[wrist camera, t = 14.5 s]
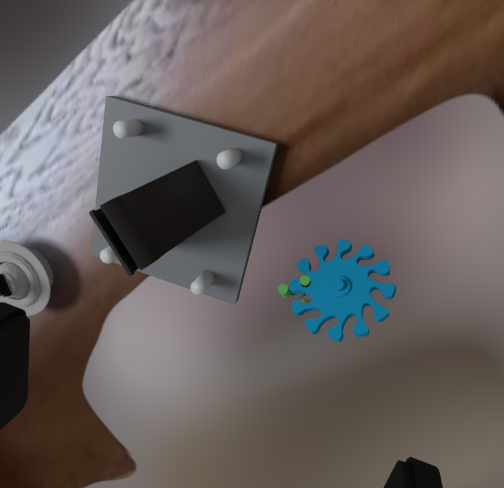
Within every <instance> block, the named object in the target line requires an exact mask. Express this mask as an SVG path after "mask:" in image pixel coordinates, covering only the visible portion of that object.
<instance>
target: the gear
mask: <svg viewBox="0 0 504 488" xmlns="http://www.w3.org/2000/svg"><path fill="white" fill-rule="evenodd" d="M337 247H338V250H337V254H336V256H335V257H334V258H333V260H332V261H331V262H325V259H326V257H327V256H328V254H329V250H328V248H327V246H326V245H320V246H317V247H315V249H314V251H315V253H316V255H317V256H318V258H319V269H318V271H316V272H311V265H310V262H309V261H308V260H307V259H306V258H304V259H302V260H301V261H300V262H299V263H298V264H297V268H298V269H299V271H300V272H302V273H304V274H307V275H308V276H307V275H304V276H302V277H301V278H300V281H299V280H298V279H295V278H294V279H292V280H291V282H290V284H289V287H288V286H287V285H285V284H281V285H280V286H279V287H278V291H279V293H280V294H281V295H282V296H283V297H284V298H289V297H290V296H291V295H292V296H293V297H294V298H295V299H298V300H302V301H303V302H304V303H306V302H308V300H312V301H311V303H309V304H304V303H302V302H301V301H298V300H296V301H293V302H292V309H293V313H294V314H295V315H296V316H301V315H303V314H304V313H305V312H308V311H312V310H317V311H322V315H321V317H320V318H317V319H315V318H310V319H308V320H306V322H305V325H306V327H307V328H308V329H309V330H310V331H311V332H312V333H313V334H316V333H318V331H319V330H320V328H321V326H322V325H323V324H324V323H325V322H326V321H328V320H330V319H332V318H337V319H338V320H339V322H338V324H337V325H336V326H334V327H331V328H330V329H329V330H328V333H327V335H328V336H329V338H331V339H333V340H335V341H338V342H341V341H342V339H343V328H344V325H345V323H346V321H347V320H348V319H349V317H351V316H356V317H357V318H358V320H357V323H356V324H355V325H354V327H353V332H354V334H355V336H356V337H364V336H367V335H369V329H368V327H367V325H366V324H365V323H364V321H363V309H364V307H365V306H368V305H369V306H372V307H373V308H374V309H373V315H374V317H375V320H376V321H378V322H382V321H383V320H385V319H386V318H387V317H388V316H389V312H388V310H387V309H386V308H385V307H383V306H381V305H379V304H377V303H376V302H375V301H374V300H373V298H372V297H371V292H372V291H373V290H375V289H378V290H380V291H381V292H382V294H383V296H384V297H385V298H386V299H392V298H393V297H394V295H395V291H396V286H395V285H394V284H393V283H378V282H375V281H373V280H371V279H370V278H369V275H370V274H371V273H373V272H375V273H378V274H380V275H381V276H388V275H389V273H390V271H389V265H388V263H387V260H381V261H379V262H378V263H376V264H374V265H371V266H359V265H358V262H359V261H360V260H369V259H372V258H373V257H374V252H373V250H372V248H371V247H370V246H368V245H367V244H364V245H363V246H362V247H361V248H360V250H359V252H358V253H357V254H356V255H355V256H354V257H352V258H350V259H348V260H342V256H343V255H345V254H346V253H349V252H350V251H351V249H352V245H351V243H350V242H349V241H346V240H339V241H338V243H337Z"/></svg>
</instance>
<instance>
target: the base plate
mask: <svg viewBox="0 0 504 488" xmlns="http://www.w3.org/2000/svg"><path fill="white" fill-rule="evenodd" d="M277 147H278V143H277V142H274V141H270V140H267V139H263V138H260V137H256V136H253V135H249V134H245V133H242V132H238V131H235V130H231V129H228V128H224V127H221V126H217V125H214V124H210V123H207V122H203V121H199V120H196V119H192V118H189V117H185V116H182V115H178V114H175V113H171V112H168V111H164V110H161V109H157V108H154V107H150V106H146V105H143V104H139V103H136V102H132V101H129V100H125V99H122V98H118V97H115V96H106V102H105V113H104V123H103V134H102V144H101V155H100V165H99V176H98V186H97V197H96V208H95V210H98V209H100V208H101V207H100V205H102V204H104V203H105V202H107V201H109V200H111V199H113V198H115V197H117V196H120V195H123V194H125V193H128V192H130V191H132V190H134V189H136V188H138V187H140V186H143V185H145V184H147V183H149V182H151V181H153V180H155V179H157V178H159V177H161V176H164V175H166V174H168V173H170V172H172V171H174V170H176V169H178V168H180V167H182V166H185V165H187V164H189V163H191V162H193V161H195V160H197V162H198V164H199V165H200V167H201V169H202V171H203V172H204V174H205V176H206V178H207V179H208V181H209V183H210V185H211V186H212V188H213V190H214V192H215V193H216V195H217V197H218V199H219V200H220V202H221V204H222V206H223V207H224V209H225V211H226V212H225V213H224V214H222V215H221V216H219V217H218V218H217V219H215V220H214V221H212V222H211V223H209V224H208V225H206V226H205V227H203V228H202V229H200V230H199V231H198V232H196V233H195V234H193V235H192V236H190V237H189V238H187V239H186V240H184V241H183V242H181V243H180V244H179V245H177V246H176V247H174V248H173V249H171V250H170V251H168V252H167V253H165V254H164V255H163V256H162V257H160V258H159V259H158V260H157V261H155V262H154V263H152V264H151V265H149V266H148V267H146V268H144V269H143V270H141V271H140V269H137V271H140V272H142V273H145V274H148V275H151V276H154V277H157V278H160V279H163V280H165V281H168V282H171V283H174V284H177V285H180V286H183V287H186V288H189V289H191V291H192V292H193V293H194V294H195V295H202V294H206V295H209V296H211V297H214V298H217V299H220V300H223V301H226V302H229V303H231V304H234V305H235V304H236V302H237V301H238V298H239V294H240V290H241V286H242V282H243V278H244V274H245V270H246V266H247V263H248V259H249V255H250V251H251V247H252V243H253V239H254V236H255V232H256V228H257V224H258V220H259V216H260V212H261V209H262V205H263V201H264V197H265V193H266V189H267V185H268V181H269V178H270V174H271V170H272V166H273V162H274V158H275V154H276V150H277ZM91 255H94V256H97V257H99V258H101V260H102V261H103V262H104V263H107V264H109V263H111V262H114V263H117V264H120V265H122V264H121V263H120V261H119V260H118V258H117V256H116V255H115V253H114V252H113V250H112V249H111V247H110V246H109V244H108V242H107V241H106V239H105V238H104V236H103V235H102V233H101V231H100V230H99V228H98V227H97V225H96V224H95V222H94V229H93V239H92V250H91Z"/></svg>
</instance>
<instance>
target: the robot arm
mask: <svg viewBox="0 0 504 488" xmlns="http://www.w3.org/2000/svg"><path fill="white" fill-rule="evenodd" d="M29 336H30V320H29V318H27V316H26V312H25V310H23V309H21V308H18V307H15V306H13V305H10V304H8V303H5V302H0V430H1V429H2V428H3V427H4V426H5V425H6V424H7V423H8V422H9V421H11V420H12V419H13V418H14V417H15V416H16V415H17V414H18V413H19V412H20V411H21V410H22V409H23V407H24V405H25V403H26V401H27V394H28V365H29ZM384 488H443V487H442V482H441V477H440V472H439V469H438V468H437V467H435V466H433V465H431V464H428V463H425V462H423V461H420V460H417V459H415V458H412V457H409V458H408V459H407V460H406V462H403V461H400V460H399V461H398V462H397V463H396V465H395V467H394V469H393V471H392V472H391V474H390V477H389V478H388V480H387V482H386V484H385V486H384Z"/></svg>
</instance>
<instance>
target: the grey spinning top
mask: <svg viewBox="0 0 504 488" xmlns="http://www.w3.org/2000/svg"><path fill="white" fill-rule="evenodd" d="M52 284H53V271H52V269H51V267H50V264H49V262H48V261H47V260H46V258H45V257H44V256H43V255H42V254H41V253H40V252H38V251H36V250H35V249H33V248H29V247H24V246H22V245H20V244H18V243H15V242H12V241H5V240H3V241H0V302H5V303H8V304H10V305H13V306H15V307H18V308H21V309H23V310H25V312H26V316H29V315H35V314H38V313H39V312H41V311H42V310H43V309H44V308H45V307H46V306H47V304H48V302H49V299H50V292H51V288H50V287H51V286H52Z"/></svg>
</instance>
